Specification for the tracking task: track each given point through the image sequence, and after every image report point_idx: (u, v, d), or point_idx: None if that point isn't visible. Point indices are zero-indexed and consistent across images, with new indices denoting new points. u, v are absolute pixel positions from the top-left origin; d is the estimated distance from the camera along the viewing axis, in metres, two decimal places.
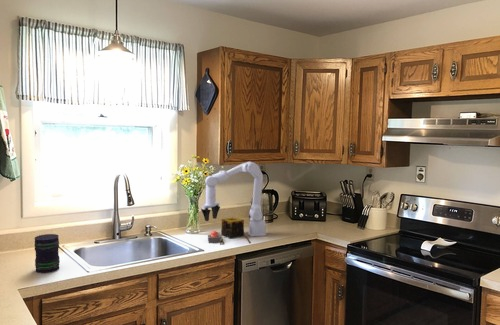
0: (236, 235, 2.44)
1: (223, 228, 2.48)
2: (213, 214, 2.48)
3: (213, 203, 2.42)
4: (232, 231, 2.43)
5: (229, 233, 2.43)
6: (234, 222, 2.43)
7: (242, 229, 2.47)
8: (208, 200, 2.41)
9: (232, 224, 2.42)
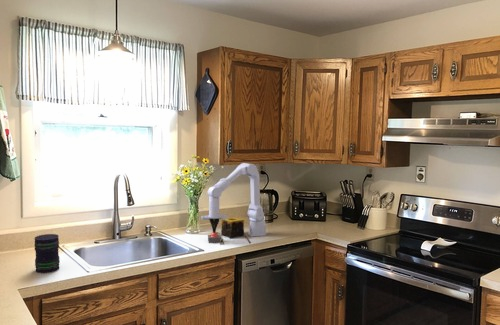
0: (236, 235, 2.44)
1: (223, 228, 2.48)
2: None
3: (213, 215, 2.32)
4: (232, 231, 2.43)
5: (229, 233, 2.43)
6: (234, 222, 2.43)
7: (242, 229, 2.47)
8: (209, 211, 2.33)
9: (232, 224, 2.42)
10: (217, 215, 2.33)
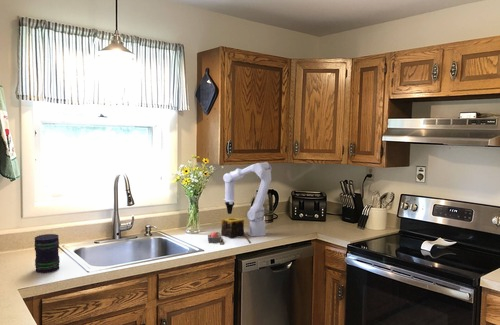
0: (236, 235, 2.44)
1: (223, 228, 2.48)
2: None
3: None
4: (232, 231, 2.43)
5: (229, 233, 2.43)
6: (234, 222, 2.43)
7: (242, 229, 2.47)
8: (230, 195, 2.58)
9: (232, 224, 2.42)
10: None
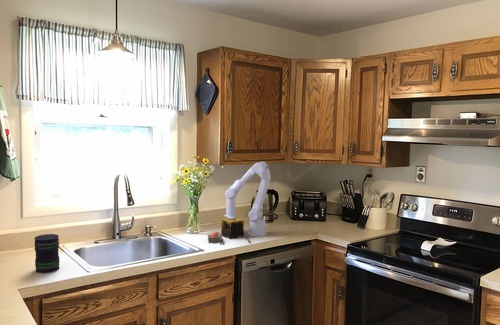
0: (236, 235, 2.43)
1: (223, 228, 2.47)
2: None
3: (235, 214, 2.55)
4: (231, 231, 2.41)
5: (228, 233, 2.42)
6: (234, 222, 2.42)
7: (242, 230, 2.46)
8: (232, 211, 2.53)
9: (231, 224, 2.41)
10: None
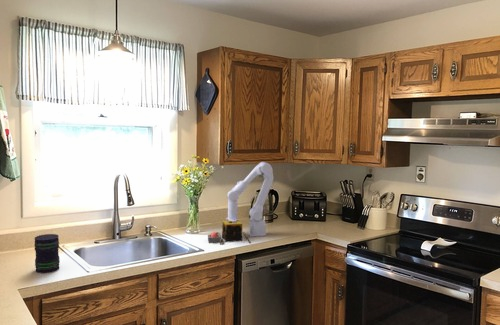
0: (232, 239, 2.36)
1: (223, 230, 2.42)
2: None
3: (237, 216, 2.47)
4: (227, 234, 2.35)
5: (224, 236, 2.36)
6: (230, 225, 2.35)
7: (240, 234, 2.37)
8: (234, 214, 2.45)
9: (227, 227, 2.34)
10: None
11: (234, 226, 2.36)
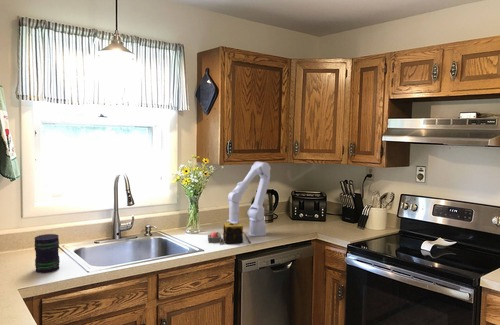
0: (232, 241, 2.30)
1: (224, 232, 2.37)
2: None
3: (238, 219, 2.42)
4: (227, 237, 2.30)
5: (225, 238, 2.31)
6: (230, 227, 2.29)
7: (240, 236, 2.31)
8: (235, 216, 2.39)
9: (227, 229, 2.29)
10: None
11: (234, 228, 2.30)
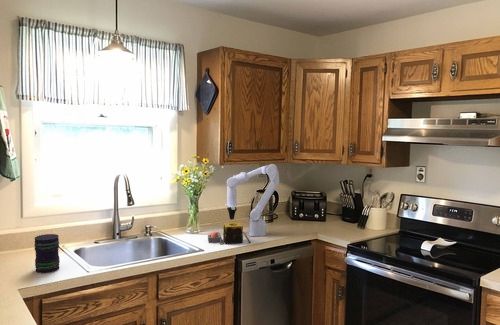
0: (232, 242, 2.30)
1: (224, 233, 2.37)
2: None
3: (236, 203, 2.51)
4: (227, 237, 2.30)
5: (224, 238, 2.31)
6: (230, 227, 2.30)
7: (240, 236, 2.31)
8: (233, 200, 2.48)
9: (227, 229, 2.29)
10: None
11: (234, 228, 2.30)
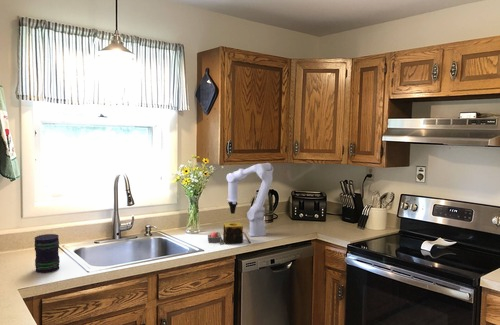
0: (232, 242, 2.30)
1: (224, 233, 2.37)
2: None
3: None
4: (227, 237, 2.30)
5: (225, 238, 2.31)
6: (230, 227, 2.30)
7: (240, 236, 2.31)
8: (234, 195, 2.58)
9: (227, 229, 2.29)
10: None
11: (234, 228, 2.30)
